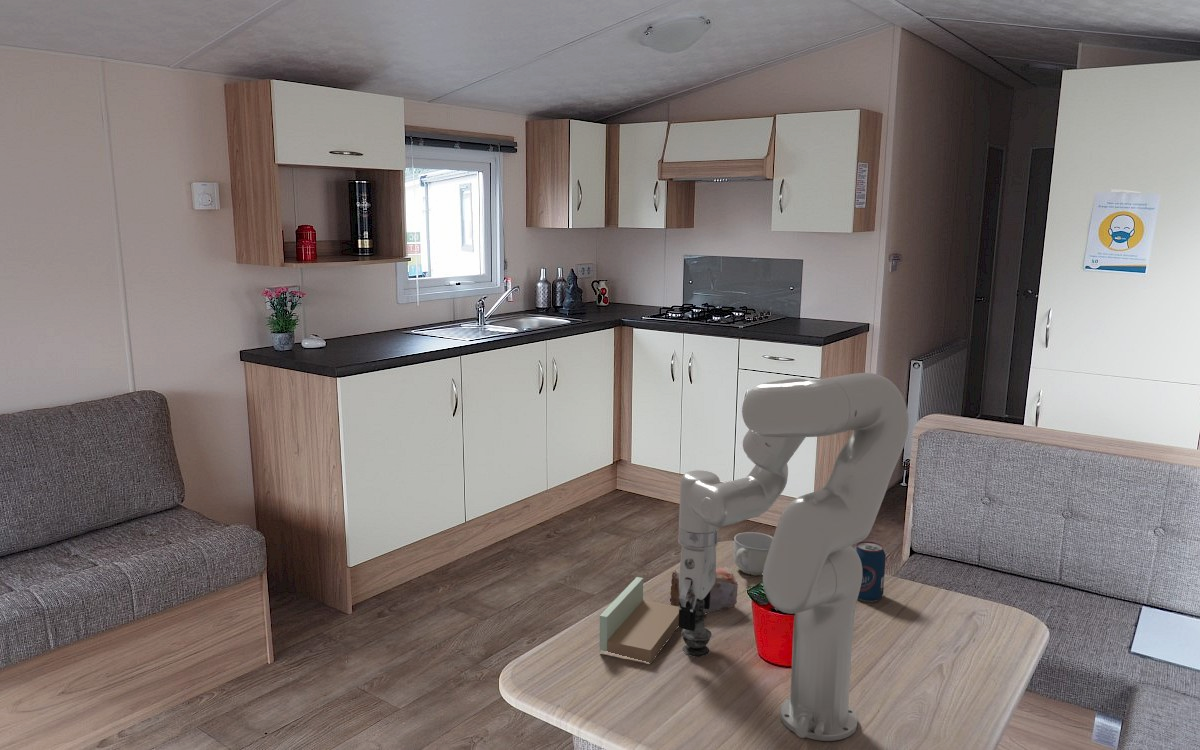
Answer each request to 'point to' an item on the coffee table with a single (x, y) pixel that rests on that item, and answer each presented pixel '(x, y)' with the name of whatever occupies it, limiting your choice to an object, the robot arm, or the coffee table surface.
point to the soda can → (871, 570)
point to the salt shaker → (697, 634)
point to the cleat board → (636, 624)
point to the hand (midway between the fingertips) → (694, 617)
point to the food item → (712, 590)
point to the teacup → (751, 551)
